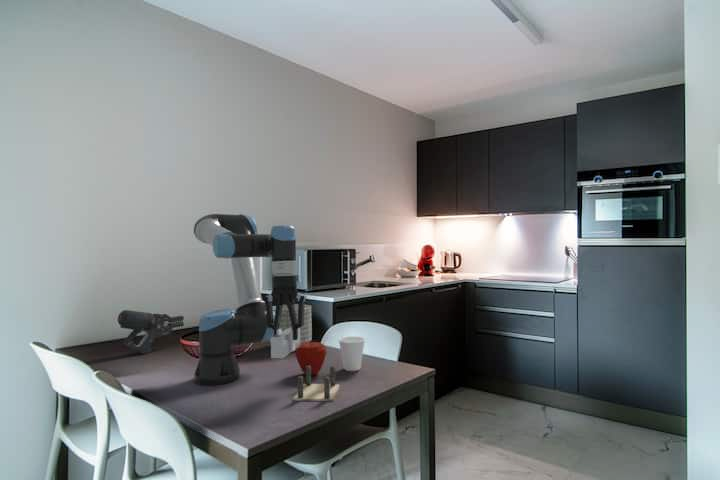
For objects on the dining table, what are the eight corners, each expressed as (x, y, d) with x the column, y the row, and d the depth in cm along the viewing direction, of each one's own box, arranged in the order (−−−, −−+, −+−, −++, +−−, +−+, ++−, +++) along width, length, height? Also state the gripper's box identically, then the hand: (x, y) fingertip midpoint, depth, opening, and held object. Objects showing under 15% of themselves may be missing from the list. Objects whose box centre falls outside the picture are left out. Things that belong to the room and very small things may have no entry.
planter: (317, 342, 196) (317, 304, 196) (303, 353, 177) (302, 310, 178) (280, 341, 200) (279, 303, 200) (262, 351, 182) (261, 309, 182)
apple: (292, 372, 150) (292, 338, 150) (320, 368, 154) (320, 335, 155) (300, 381, 140) (300, 345, 140) (330, 376, 144) (330, 342, 144)
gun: (115, 357, 174) (114, 310, 174) (178, 344, 197) (177, 302, 197) (122, 360, 170) (122, 311, 170) (186, 346, 193) (185, 303, 193)
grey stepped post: (283, 358, 119) (283, 337, 120) (270, 358, 120) (269, 337, 120) (300, 346, 136) (299, 328, 136) (288, 346, 137) (288, 328, 137)
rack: (293, 400, 122) (292, 378, 122) (303, 385, 135) (303, 365, 135) (333, 401, 121) (332, 378, 121) (339, 386, 134) (339, 365, 134)
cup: (362, 373, 147) (362, 342, 147) (335, 372, 149) (335, 341, 149) (367, 365, 157) (367, 336, 157) (342, 364, 159) (342, 336, 159)
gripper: (254, 276, 126) (256, 353, 125) (306, 274, 124) (309, 353, 123) (263, 275, 134) (265, 348, 133) (313, 273, 132) (315, 347, 130)
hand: (286, 350), depth 128 cm, fingers closed on grey stepped post, 3 cm apart
